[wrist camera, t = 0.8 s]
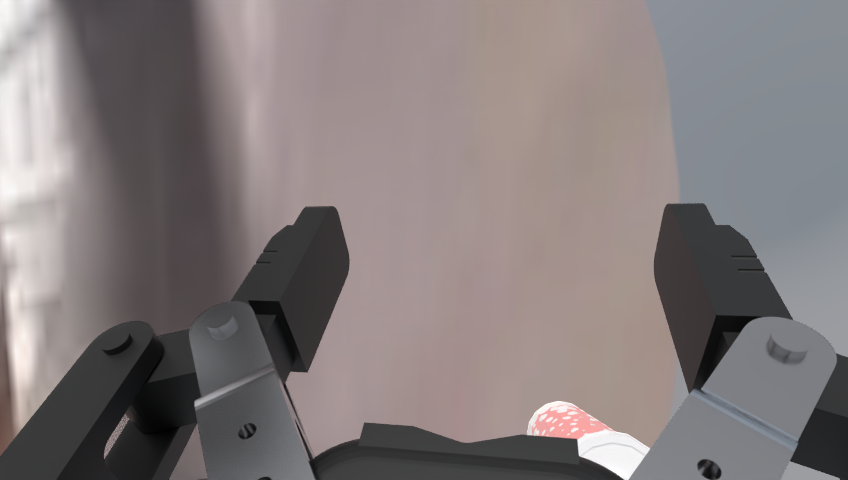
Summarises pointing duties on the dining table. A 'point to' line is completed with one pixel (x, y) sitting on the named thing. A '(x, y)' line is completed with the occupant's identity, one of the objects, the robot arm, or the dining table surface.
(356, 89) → the dining table surface
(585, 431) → the beverage cup
